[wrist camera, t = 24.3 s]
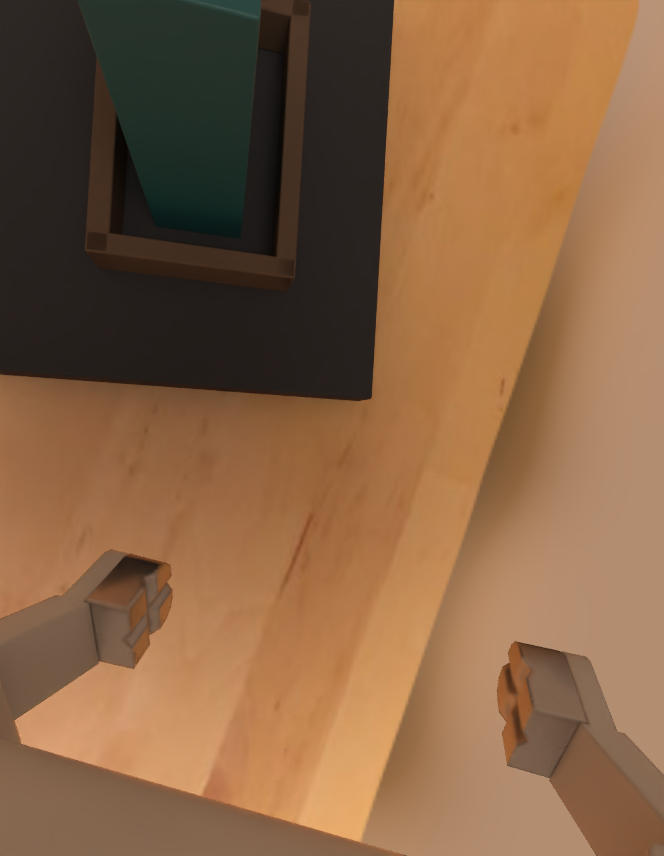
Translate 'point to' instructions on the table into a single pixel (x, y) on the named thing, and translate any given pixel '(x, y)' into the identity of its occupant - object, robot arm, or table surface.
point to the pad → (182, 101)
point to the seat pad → (191, 251)
